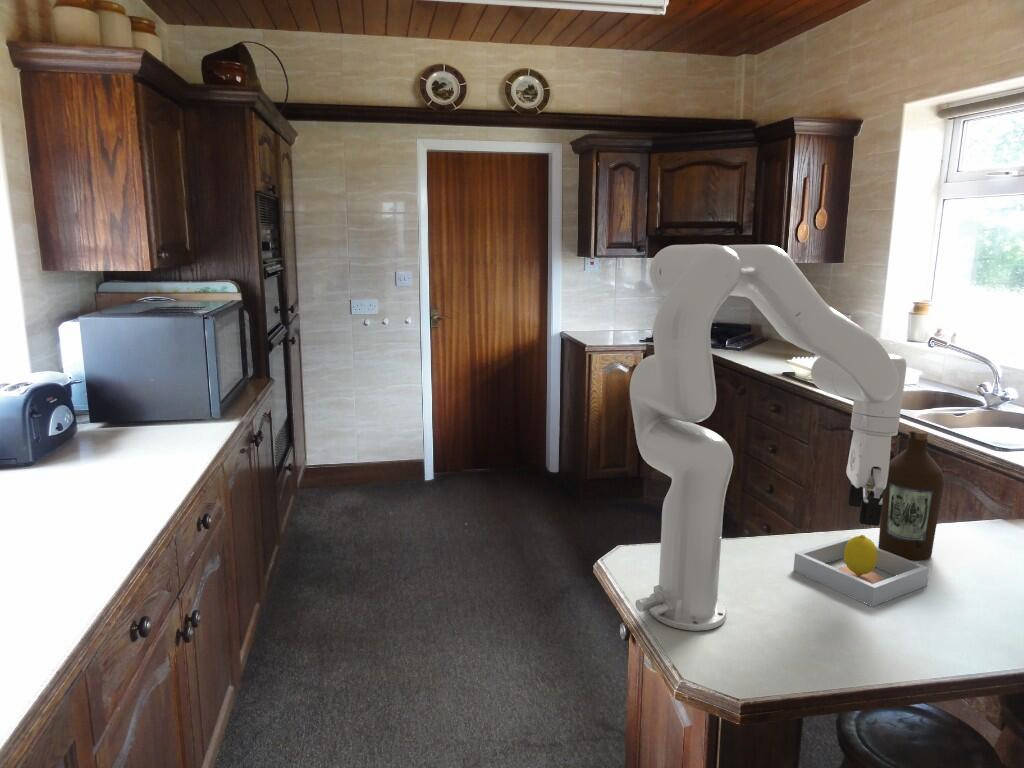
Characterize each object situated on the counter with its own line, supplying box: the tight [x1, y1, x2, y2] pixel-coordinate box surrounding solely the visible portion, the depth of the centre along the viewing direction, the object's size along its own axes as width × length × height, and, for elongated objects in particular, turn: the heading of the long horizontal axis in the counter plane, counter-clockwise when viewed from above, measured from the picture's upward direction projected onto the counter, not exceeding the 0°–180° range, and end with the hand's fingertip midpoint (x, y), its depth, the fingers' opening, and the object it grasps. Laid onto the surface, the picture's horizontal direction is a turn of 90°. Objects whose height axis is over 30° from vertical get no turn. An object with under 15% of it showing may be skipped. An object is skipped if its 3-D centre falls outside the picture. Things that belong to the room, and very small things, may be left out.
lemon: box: [843, 534, 878, 576], centre depth 129 cm, size 6×6×8 cm
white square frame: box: [793, 536, 930, 607], centre depth 130 cm, size 16×16×4 cm
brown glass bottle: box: [878, 429, 945, 562], centre depth 140 cm, size 11×11×25 cm
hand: (862, 515), depth 128 cm, fingers open, 9 cm apart
